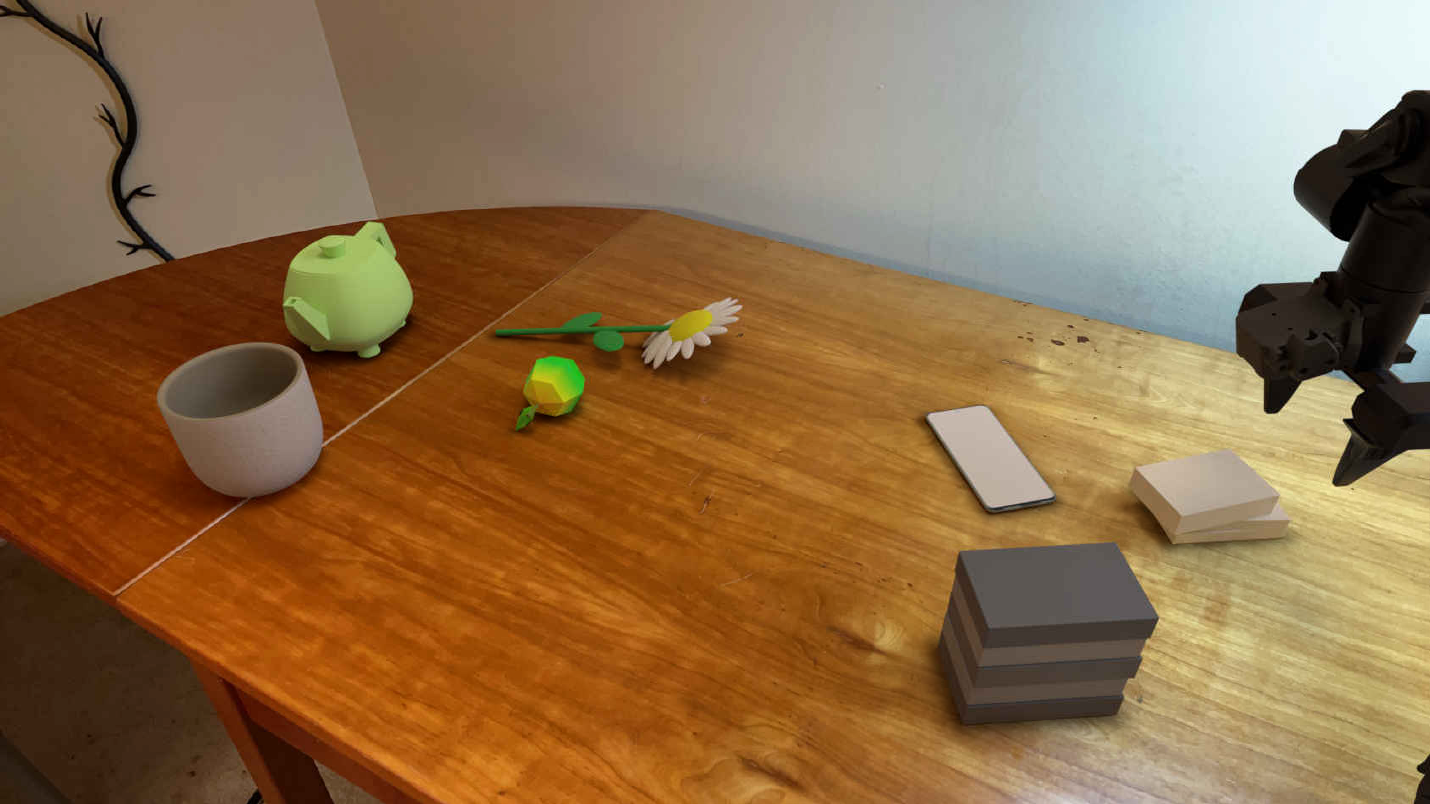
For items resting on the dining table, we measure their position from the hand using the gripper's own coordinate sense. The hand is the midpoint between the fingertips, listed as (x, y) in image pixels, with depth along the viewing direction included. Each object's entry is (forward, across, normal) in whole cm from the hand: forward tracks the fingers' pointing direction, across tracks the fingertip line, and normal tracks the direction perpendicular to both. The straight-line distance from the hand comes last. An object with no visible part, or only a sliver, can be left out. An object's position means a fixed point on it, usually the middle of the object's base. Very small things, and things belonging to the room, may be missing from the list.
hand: (1303, 447), depth 73 cm
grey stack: (+12, +11, -24) cm, 30 cm away
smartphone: (+12, -14, -19) cm, 27 cm away
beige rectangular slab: (+12, -5, -1) cm, 13 cm away
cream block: (+10, -4, -3) cm, 11 cm away
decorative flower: (+12, -38, -56) cm, 68 cm away
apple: (+12, -25, -63) cm, 69 cm away
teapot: (+12, -43, -87) cm, 98 cm away
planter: (+12, -19, -90) cm, 93 cm away
